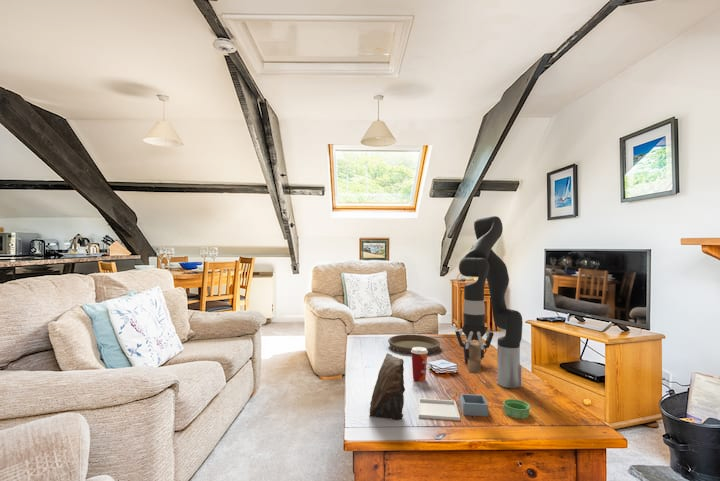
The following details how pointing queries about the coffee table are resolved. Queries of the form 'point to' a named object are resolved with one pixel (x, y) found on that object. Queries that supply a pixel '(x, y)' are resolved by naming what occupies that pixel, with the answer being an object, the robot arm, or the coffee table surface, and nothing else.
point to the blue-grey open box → (473, 405)
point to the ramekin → (516, 408)
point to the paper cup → (419, 363)
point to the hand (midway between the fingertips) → (474, 358)
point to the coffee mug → (464, 353)
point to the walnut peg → (474, 358)
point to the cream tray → (438, 409)
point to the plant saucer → (413, 343)
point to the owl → (389, 390)
